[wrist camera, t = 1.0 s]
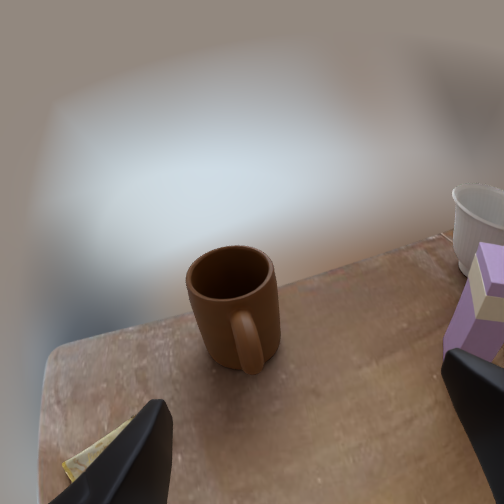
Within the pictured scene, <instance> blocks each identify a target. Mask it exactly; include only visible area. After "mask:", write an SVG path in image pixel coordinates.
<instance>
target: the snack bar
mask: <svg viewBox="0 0 504 504" xmlns="http://www.w3.org/2000/svg"><path fill="white" fill-rule="evenodd" d="M135 416H136V415H133V416H132V417H131V419H129V420H128V421H126V422H124V423H123V424H122V425H121V426H120V427H119V428H117V429H115V430H114V431H112V432H111V433H110V434H108V435H107V436H105V437H104V438H102V439H101V440H99V441H98V442H96V443H95V444H94V445H92V446H91V447H89V448H88V449H86V450H84V451H83V452H81V453H79V454H78V455H76V456H74V457H73V458H71V459H69V460H67V461H66V462H64V463H62V466H63V468H64V469H65V472H66V474H67V475H68V477H69V478H70V480H71V481H72V483H73V482H74V481H75V480H76V479H77V478H78V477H79V476H80V475H81V474H82V472H84V471H85V469H86V468H87V467H88V466H89V465H90V464H91V463H92V462H93V461H94V460H95V459H96V458H97V457H98V456H99V455H100V454H101V453H102V451H103V450H104V449H105V448H106V447H107V446H108V445H109V444H110V443H111V442H112V441H113V440H114V439H115V438H116V437H117V435H118V434H119V433H120V432H121V431H122V430H123V429H124V428H125V427H126V426H127V425H128V424H129V423H130V421H131V420H132V419H133V418H134V417H135Z"/></svg>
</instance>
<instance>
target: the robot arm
mask: <svg viewBox="0 0 504 504" xmlns="http://www.w3.org/2000/svg"><path fill="white" fill-rule="evenodd" d="M441 374H442V377H443V380H444V382H445V385H446V388H447V390H448V393H449V395H450V398H451V401H452V403H453V406H454V408H455V411H456V413H457V415H458V417H459V419H460V421H461V423H462V425H463V427H464V429H465V431H466V433H467V435H468V438H469V440H470V442H471V444H472V446H473V448H474V451H475V453H476V455H477V457H478V459H479V462H480V464H481V466H482V469H483V471H484V473H485V476H486V478H487V481H488V483H489V486H490V488H491V491H492V493H493V496H494V498H495V501H496V504H504V368H501V367H499V366H497V365H495V364H493V363H491V362H488V361H486V360H484V359H482V358H480V357H477V356H475V355H473V354H471V353H469V352H466V351H464V350H462V349H460V348H454V349H451V350H448V351H447V352H446V354H445V357H444V361H443V364H442V368H441ZM172 438H173V419H172V415H171V413H170V411H169V409H168V407H167V405H166V402H165V401H164V400H162V399H152V400H150V401H149V402H148V403H147V404H146V405H145V406H144V407H143V408H142V409H141V411H140V412H139V413H138V414H137V415H136V416H135V417H134V418H133V419H132V420H131V421H130V423H129V424H128V425H127V426H126V427H125V428H124V429H123V430H122V431H121V432H120V433H119V434H118V435H117V437H116V438H115V439H114V440H113V441H112V442H111V443H110V444H109V445H108V446H107V447H106V448H105V449H104V450H103V451H102V453H101V454H100V455H99V456H98V457H97V458H96V459H95V460H94V461H93V462H92V463H91V464H90V465H89V466H88V467H87V468H86V469H85V471H84V472H82V474H81V475H80V476H79V477H78V478H77V479H76V480H75V481H74V482H73V483H72V484H71V485H70V486H69V487H68V488H66V489H65V490H64V491H63V492H62V493H61V494H59V495H58V496H57V497H56V498H55V499H53V500H52V501H51V502H50V503H48V504H167V498H168V490H169V483H170V475H171V468H172Z"/></svg>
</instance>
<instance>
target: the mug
mask: <svg viewBox="0 0 504 504" xmlns="http://www.w3.org/2000/svg"><path fill="white" fill-rule="evenodd" d="M186 286H187V290H188V295H189V300H190V303H191V306H192V309H193V312H194V315H195V318H196V321H197V324H198V327H199V329H200V332H201V335H202V337H203V340H204V343H205V345H206V348H207V350H208V352H209V354H210V355H211V357H212V358H213V359H214V360H215V361H216V362H217V363H219V364H221V365H222V366H225V367H228V368H231V369H239V370H243V371H244V372H245V373H247V374H250V375H256V374H258V373H260V371H261V370H262V369H263V366H264V363H265V362H266V361H267V360H269V359H270V358H271V357H272V356H273V355H274V353H275V352H276V350H277V349H278V346H279V343H280V336H281V331H280V316H279V302H278V291H277V282H276V276H275V272H274V266H273V263H272V261H271V259H270V258H269V257H268V256H267V255H266V254H265V253H264V252H262V251H261V250H258V249H256V248H253V247H249V246H226V247H221V248H217V249H214V250H212V251H209V252H208V253H205V254H204V255H202V256H200V257H199V258H198V259H197V260H196V261H194V262H193V263H192V265H191V266H190V268H189V269H188V272H187V275H186Z"/></svg>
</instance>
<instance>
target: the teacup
mask: <svg viewBox="0 0 504 504" xmlns="http://www.w3.org/2000/svg"><path fill="white" fill-rule="evenodd" d="M452 196H453V199H454V200H455V203H456V213H455V223H454V232H453V247H454V251H455V254H456V256H457V258H458V259H459V263H458V264H459V268H460V270H461V271H462V273H463V274H464V275H465V276H467V277H468V274H469V271H470V268H471V265H472V262H473V259H474V256H475V253H476V252H477V249H478V246H479V243H480V242H483V243H489V244H495V245H500V246H504V191H503V190H501V189H499V188H496V187H492V186H489V185H485V184H479V183H465V184H461V185H459V186H457V187H456V188H455V189H454V190H453V192H452Z"/></svg>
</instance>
